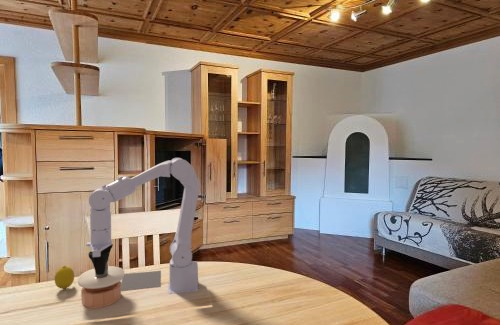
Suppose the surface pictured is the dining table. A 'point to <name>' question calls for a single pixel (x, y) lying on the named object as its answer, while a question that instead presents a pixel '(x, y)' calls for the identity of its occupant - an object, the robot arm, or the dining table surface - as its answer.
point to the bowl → (101, 296)
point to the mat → (141, 280)
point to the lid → (101, 277)
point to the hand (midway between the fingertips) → (101, 271)
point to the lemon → (64, 277)
